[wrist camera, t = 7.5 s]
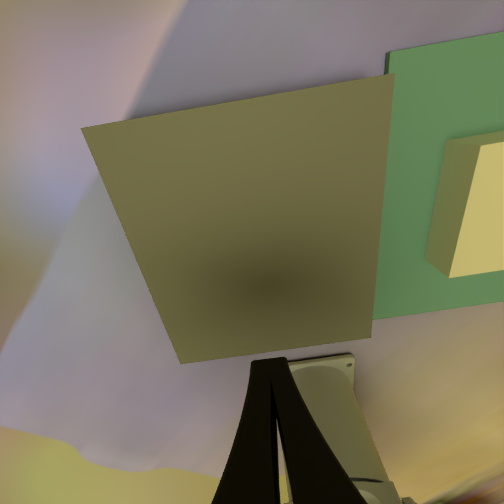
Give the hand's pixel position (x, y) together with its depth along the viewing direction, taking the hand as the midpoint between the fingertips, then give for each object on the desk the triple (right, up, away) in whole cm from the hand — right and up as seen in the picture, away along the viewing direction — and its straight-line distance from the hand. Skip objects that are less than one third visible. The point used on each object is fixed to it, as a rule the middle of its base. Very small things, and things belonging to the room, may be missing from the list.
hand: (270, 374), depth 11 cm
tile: (+14, +8, +5) cm, 17 cm away
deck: (0, +6, +7) cm, 10 cm away
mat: (+13, +8, +7) cm, 17 cm away
